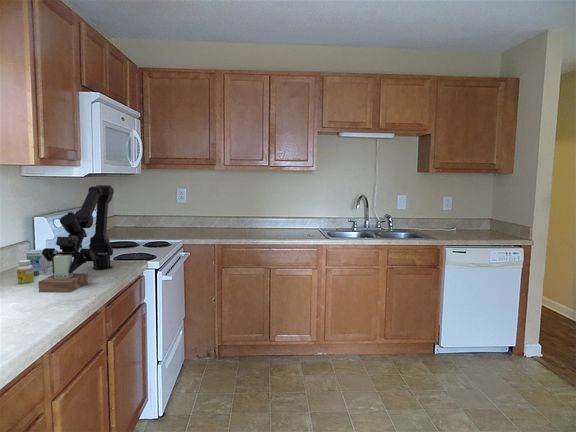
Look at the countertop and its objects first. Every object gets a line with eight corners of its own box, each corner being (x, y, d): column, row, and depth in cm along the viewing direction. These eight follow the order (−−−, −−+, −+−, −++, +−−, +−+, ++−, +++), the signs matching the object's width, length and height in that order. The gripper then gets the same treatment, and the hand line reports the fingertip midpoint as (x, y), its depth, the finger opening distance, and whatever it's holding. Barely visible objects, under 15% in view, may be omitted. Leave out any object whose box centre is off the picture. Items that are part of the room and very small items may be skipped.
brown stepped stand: (57, 281, 169) (57, 270, 169) (96, 282, 170) (96, 271, 169) (27, 296, 150) (27, 284, 149) (72, 296, 150) (71, 284, 149)
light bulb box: (26, 277, 176) (25, 252, 175) (32, 273, 183) (30, 249, 181) (54, 275, 179) (53, 251, 178) (58, 272, 185) (57, 248, 184)
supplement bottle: (36, 283, 166) (35, 260, 165) (22, 286, 162) (21, 262, 161) (28, 281, 169) (27, 258, 168) (15, 284, 164) (13, 261, 163)
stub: (60, 285, 161) (59, 254, 160) (73, 285, 162) (72, 254, 160) (54, 288, 157) (53, 256, 156) (68, 288, 157) (66, 257, 156)
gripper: (43, 227, 161) (27, 261, 151) (90, 228, 161) (78, 262, 151) (55, 244, 170) (40, 277, 160) (100, 244, 170) (89, 277, 160)
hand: (61, 273), depth 158 cm, fingers open, 6 cm apart
